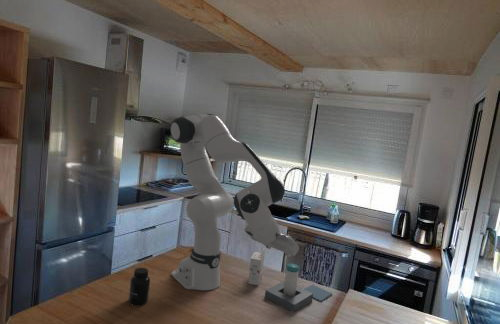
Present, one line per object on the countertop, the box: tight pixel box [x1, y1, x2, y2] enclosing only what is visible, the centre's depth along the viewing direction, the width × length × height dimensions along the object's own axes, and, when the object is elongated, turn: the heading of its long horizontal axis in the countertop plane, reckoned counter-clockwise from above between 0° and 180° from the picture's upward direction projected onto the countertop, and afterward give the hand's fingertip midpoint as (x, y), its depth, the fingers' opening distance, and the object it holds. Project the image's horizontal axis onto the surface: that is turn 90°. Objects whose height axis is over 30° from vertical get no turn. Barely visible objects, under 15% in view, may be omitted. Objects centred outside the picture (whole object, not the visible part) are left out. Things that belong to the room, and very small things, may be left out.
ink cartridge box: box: [248, 247, 266, 286], centre depth 152 cm, size 9×5×15 cm, turn 168°
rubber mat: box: [303, 284, 333, 303], centre depth 147 cm, size 10×10×1 cm
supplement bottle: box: [128, 267, 151, 306], centre depth 124 cm, size 7×7×12 cm
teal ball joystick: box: [283, 263, 300, 298], centre depth 139 cm, size 5×5×14 cm
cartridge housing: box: [264, 280, 314, 313], centre depth 140 cm, size 14×14×3 cm
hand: (279, 251), depth 129 cm, fingers open, 8 cm apart
